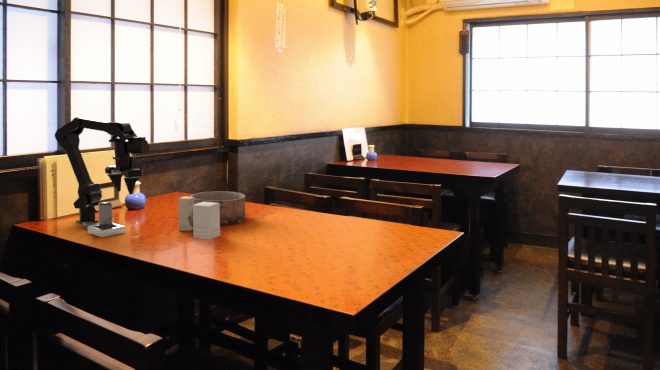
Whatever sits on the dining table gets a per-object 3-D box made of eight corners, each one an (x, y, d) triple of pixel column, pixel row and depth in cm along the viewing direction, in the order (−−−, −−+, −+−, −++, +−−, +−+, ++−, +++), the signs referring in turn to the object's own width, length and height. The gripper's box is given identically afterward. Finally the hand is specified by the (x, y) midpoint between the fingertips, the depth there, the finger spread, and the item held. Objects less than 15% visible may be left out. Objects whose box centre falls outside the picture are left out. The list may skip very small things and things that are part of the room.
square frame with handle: (73, 228, 206) (73, 222, 206) (96, 224, 214) (96, 218, 214) (101, 237, 195) (101, 230, 195) (125, 232, 203) (124, 226, 202)
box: (188, 231, 207) (188, 198, 205) (178, 230, 207) (177, 198, 205) (194, 228, 212) (194, 196, 210) (184, 227, 212) (184, 196, 210)
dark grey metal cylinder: (97, 233, 201) (96, 202, 199) (108, 230, 205) (107, 201, 203) (104, 235, 198) (102, 204, 197) (115, 232, 202) (114, 202, 200)
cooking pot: (206, 212, 244) (206, 189, 242) (254, 215, 240) (254, 191, 239) (178, 227, 214) (177, 200, 213) (231, 230, 211) (231, 203, 209)
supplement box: (220, 235, 202) (220, 202, 200) (210, 240, 195) (209, 206, 193) (203, 233, 204) (203, 201, 202) (192, 238, 197) (192, 204, 196)
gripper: (154, 153, 210) (156, 192, 213) (129, 150, 222) (131, 187, 225) (127, 156, 202) (130, 196, 204) (103, 152, 214) (105, 191, 216)
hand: (124, 192), depth 213 cm, fingers open, 9 cm apart
